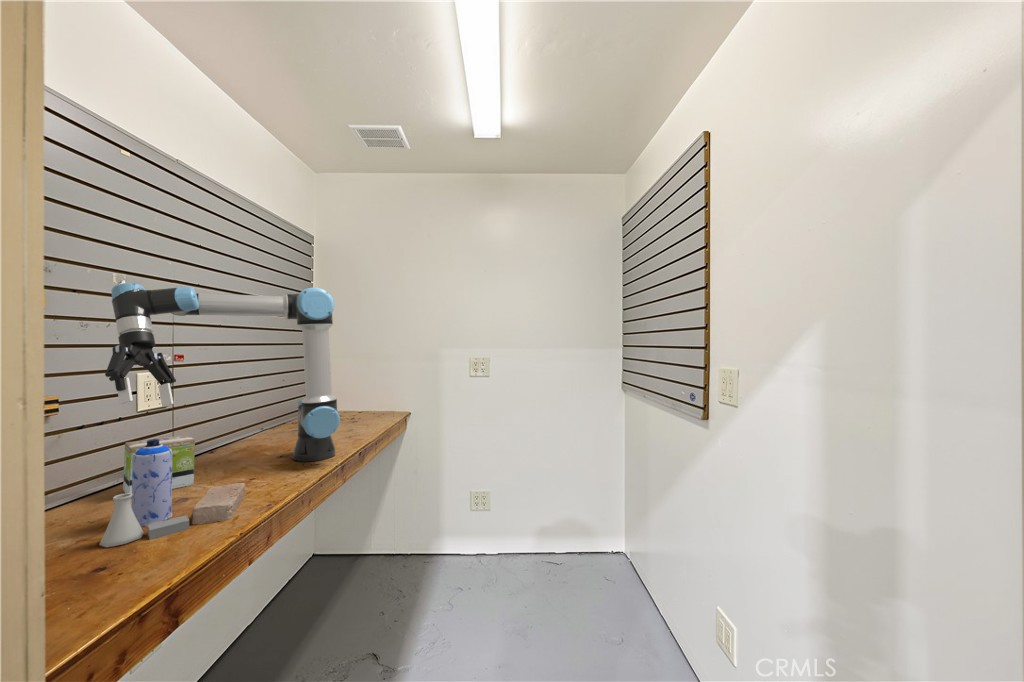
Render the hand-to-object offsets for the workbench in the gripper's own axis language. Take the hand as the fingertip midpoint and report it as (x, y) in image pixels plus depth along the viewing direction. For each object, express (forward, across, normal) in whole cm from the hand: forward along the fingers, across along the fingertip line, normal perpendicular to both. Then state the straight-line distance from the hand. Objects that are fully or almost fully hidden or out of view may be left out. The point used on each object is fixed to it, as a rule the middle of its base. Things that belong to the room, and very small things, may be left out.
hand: (148, 404), depth 111 cm
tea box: (+22, -16, -13) cm, 30 cm away
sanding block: (+36, +13, +9) cm, 39 cm away
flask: (+34, +16, +2) cm, 38 cm away
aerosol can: (+31, +6, +1) cm, 32 cm away
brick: (+35, +1, +14) cm, 38 cm away
